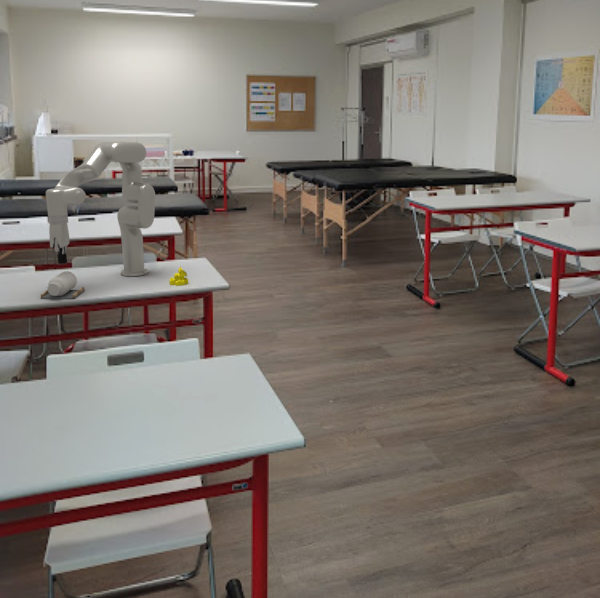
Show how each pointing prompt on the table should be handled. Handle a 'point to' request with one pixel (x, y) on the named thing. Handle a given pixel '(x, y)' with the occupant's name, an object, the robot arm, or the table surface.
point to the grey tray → (65, 296)
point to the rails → (72, 295)
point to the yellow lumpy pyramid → (179, 278)
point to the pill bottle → (62, 283)
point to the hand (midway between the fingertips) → (62, 263)
